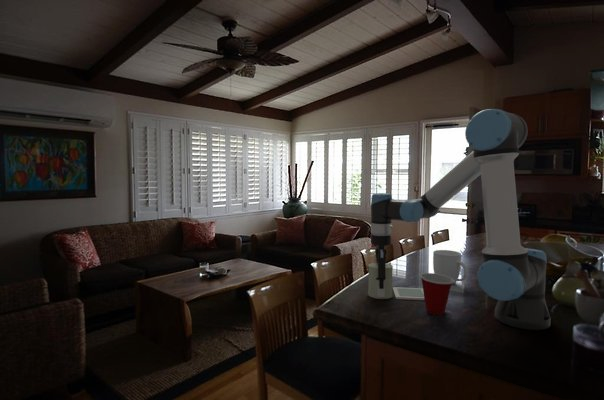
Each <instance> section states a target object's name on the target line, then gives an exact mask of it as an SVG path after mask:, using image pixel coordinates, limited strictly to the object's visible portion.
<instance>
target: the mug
mask: <svg viewBox="0 0 604 400" xmlns="http://www.w3.org/2000/svg"><path fill="white" fill-rule="evenodd" d="M432 255H433V256H432V267H433V268H432V269H433V273H434V274H440V275H444V276H448V277H450V278H452V279H453V280H454V283H453V285H455V284H456V283H457V282H463V281H465V280H466V279H467V277H468V275H469V273H468V270H469V269H468V267H467V265H466V264H465V262H464V261H462V253H461V252H459V251H455V250H449V249H436V250H433V254H432ZM461 267H462V268H463V272H464V273H463V277H462V278H459V277H460V273H461V269H462V268H461Z"/></svg>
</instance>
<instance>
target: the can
mask: <svg viewBox="0 0 604 400" xmlns="http://www.w3.org/2000/svg"><path fill="white" fill-rule="evenodd" d="M393 267H394V265H392V264H391V263H387V262H385V277H386V279H385V297H377V280H376V278H378V263H376V262H371V263H368V287H367V288H368V289H367V290H368V292H367V295H368V296H369V297H370V298H373V299H379V300H384V299H385V300H387V299H391V298H392V297H393V272H394V271H393Z"/></svg>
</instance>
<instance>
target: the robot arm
mask: <svg viewBox="0 0 604 400" xmlns="http://www.w3.org/2000/svg"><path fill="white" fill-rule="evenodd" d="M464 132H465V135H464V136H465V139H466V142H467V143H468V145H469V146H470V147H471V148H472V150H471V152H470V153H469V154H467V156H465V157H464V158H463V159H462V160H461V161H460V162H459V163H458V164H456V165H455V166H454V167H453V168H451V170H449V172H447V173H446V174H445V175H444V176H443V177H442V178H440V180H439V181H437V182H436V183H435V184H434V185H433V186H431V188H429V189H428V190H427V191H426V192H425V193H424V194H423V195H421V197H419V198H414V199H413V198H412V199H394V198H393V197H392V196H393V195H392V194H391V193H387V192H386V193H385V192H383V193H382V192H379V193H378V192H377V193H375V192H374V193H373V194H372V195H371V203H370V216H371V217H370V219H371V220H370V233H371V235H370V244H371V245H373V246H375V249H374V250H375V251H374V253H375V260H376V261H375V263H378V278H376V280H377V297H385V279H386V277H385V263H386V261H387V256H386V255H387V248H385V246H391V244H392V235H391V234H392V229H393V228H394V227H393V225H392V220H393V221H401V222H407V223H417V222H419V221H420V220H422V219H430V218H432V217H436V216H437V214H438V213H439V210H440V208H441V207H443V206H444V205H446V204H447V203H448V202H449V201H450V200H451V199H452V198H454V197H455V196H456V195H457V194H459V193H460V192H461V191H463V190H464V189H465V188H466V187H467V186H468V185H470V184H471V183H472V182H473V181H475V180H476V179H478V177H480V179H481V189H482V202H483V214H484V216H483V217H484V226H485V227H484V228H485V239H486V246H485V247H484V248H483V249H482V250H481V259H482V260H481V261H482V264H481V265H480V266H479V267H478V271H477V275H476V277H477V282H478V285H479V287H480V288H481V290H482V291H483V292H485V294H487V295H488V296H489V297H490V298H493V299H495V300H497V303H496V306H495V307H494V318H495V319H496V320H497V321H499V322H500V323H503V324H505V325H508V326H510V327H514V328H518V329H522V330H531V331H533V330H534V331H539V330H540V331H541V330H547V329H549V328H550V327H551V320H552V319H551V315H550V313H549V312H550V311H549V309H548V306H547V303H546V297H545V296H546V295H545V293H546V278H547V277H546V275H547V264H548V260H547V253H546V252H545V251H543V250H539V249H535V248H534V249H533V248H527V247H524V246H523V245H522V244H521V235H520V233H521V232H520V222H519V211H518V200H517V199H518V198H517V187H516V176H515V165H514V164H515V163H514V161H515V159H516V158H518V156H519V155H520V149H519V148H521V147H522V145H523V144H524V143H525V141H526V139H527V137H528V134H529V133H528V125H527V122H526V121H525V120H524V118H523V117H521V116H520V115H518V114H516V113H513V112H508V111H505V110H503V109H500V108H499V109H498V108H489V109H488V108H486V109H483V110H481V111H479V112H477V113H475V114H474V115H473V116H472V117H471V119H469V121H468V122H467V124H466V127H465V131H464Z"/></svg>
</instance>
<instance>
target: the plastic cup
mask: <svg viewBox="0 0 604 400" xmlns="http://www.w3.org/2000/svg"><path fill="white" fill-rule="evenodd" d="M420 279H421V283H422V288H423V292H424V300H423V301H424V303H425V304H424V305H425V310H426V312H427V313H429V314H432V315H436V316H439V315H440V316H441V315H444V314H445V313H446V308H447V305H448V300H449V297H450V296H449V295H450V290H451V289H452V288H451V287H452V286H453V285H454V284H453V283H454V280H453V279H452V278H450V277H448V276H444V275H440V274H434V272H425V273H421V274H420ZM452 284H453V285H452Z"/></svg>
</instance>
